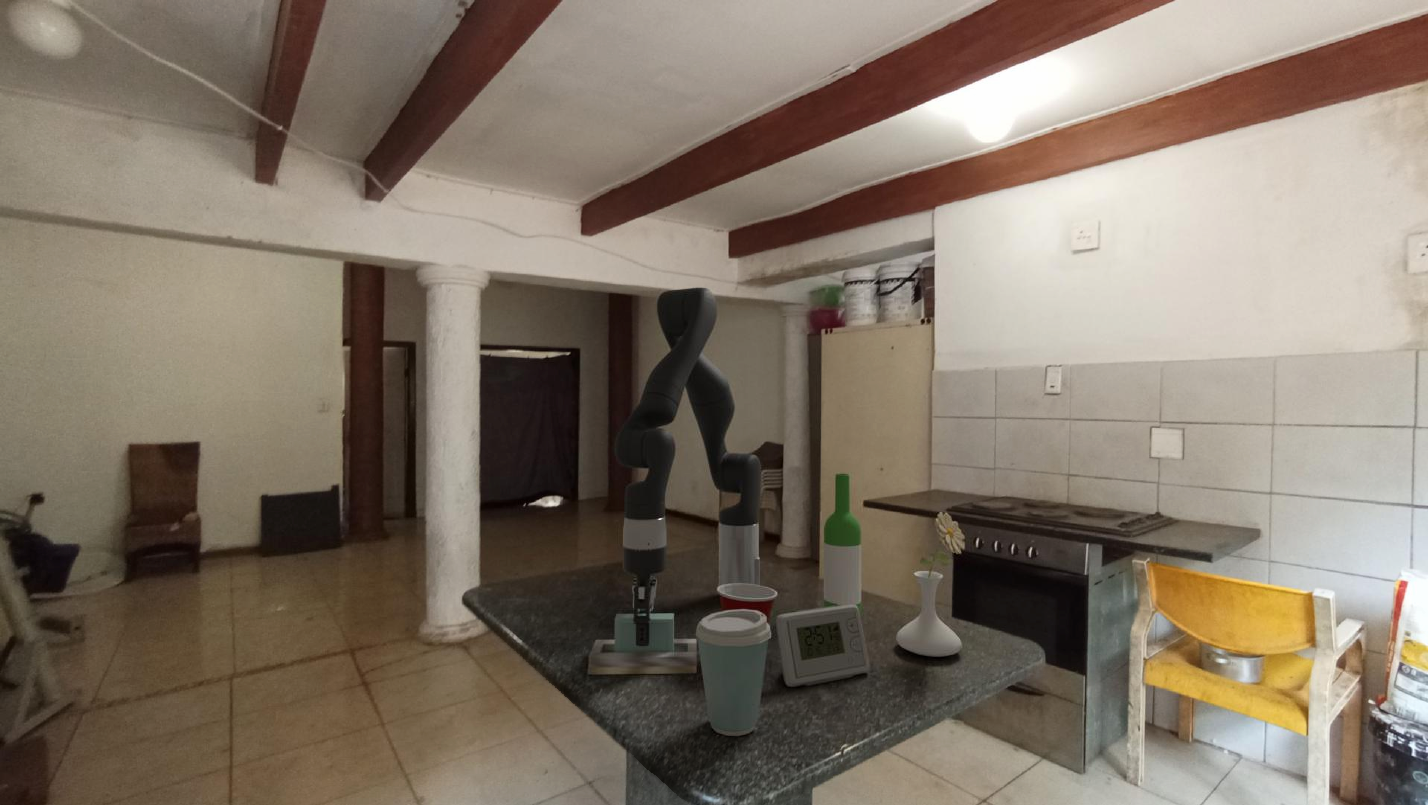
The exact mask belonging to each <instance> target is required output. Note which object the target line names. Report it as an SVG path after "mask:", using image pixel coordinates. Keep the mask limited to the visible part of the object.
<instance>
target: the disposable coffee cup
mask: <svg viewBox="0 0 1428 805" xmlns="http://www.w3.org/2000/svg"><path fill="white" fill-rule="evenodd" d="M695 632H696V633H695V637H696V640H697V645H698V651H699V658H700V659H699V661H700V666H701V667H700V668H701V672H702V679H703V680H702V682H703V688H704V695H705V702H706V709H707V715H708V716H707V717H708V722H709V723H710V726H711V728H712V729H713V730H714V731H715V732H716V733H718V734H721V735H723V736H728V737H730V736H731V737H740V736H744V735H748V734H750V733H751V732H753V731H754V730H755V729H756V726H757V724H758V722H759V721H758V720H759V713H760V712H759V711H760V706H761V705H760V704H761V698H762V697H761V696H762V692H763V691H762V690H763V682H764V675H765V668H766V662H767V660H766V659H767V653H768V652H767V651H768V644H769V639H771V638H772V631H771V625H770V624H769V623H767V617H766V616H765V615H764V614H763V613H761V612H759V611H757V610H747V609H738V610H726V611H717V612H714V613H710V614H709V615H707V616H705V617H703V618H702V619H701V620H700V621H699V622H698V623H697V626H696V631H695Z"/></svg>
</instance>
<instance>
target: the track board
mask: <svg viewBox="0 0 1428 805" xmlns="http://www.w3.org/2000/svg"><path fill="white" fill-rule="evenodd" d="M697 650H698V649H697V638H674V652H624V653H615V639H595V641H594V644H593V646H592V648H591V651H590V653H589V656H588V668H587V675H636V674H637V675H645V674H646V675H654V674H655V675H657V674H658V675H659V674H661V675H662V674H666V675H667V674H670V675H671V674H673V675H674V674H697V672H698V671H697V669H698V668H697V667H698V666H697V665H698V664H697V658H698V656H697Z"/></svg>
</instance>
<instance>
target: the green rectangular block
mask: <svg viewBox="0 0 1428 805" xmlns="http://www.w3.org/2000/svg"><path fill="white" fill-rule="evenodd" d="M639 616H646V614H640V613H639ZM633 618H634V613H616V615H615V617H614V640H615V653H624V652H674V639H675V635H674V634H675V613H674V612H673V613H671V612H670V613H665V612H664V613H653V614H650V618H651V621H650V624H649V645H648V646H637V645H636V624H634V621H633Z"/></svg>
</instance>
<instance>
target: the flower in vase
mask: <svg viewBox="0 0 1428 805" xmlns="http://www.w3.org/2000/svg"><path fill="white" fill-rule="evenodd" d="M934 525H935V527H936V532H937V534H938V539H939V542H938V544H937V547H936V549H935V553H934V556H933V560H932V561H931V560H929V559H927V558H925V557H923V556H921V557H920V561H919V564H920V565H923V566H926V567H929V570H928V571H927V570H926V571H925V570H923V571H922V570H921V571H920V570H919V571H915V572H914V573H913V575H914V576H915V578H916V579H917V581H918V583H919V587H920V592H921V612H920V613H919V615H918V616H917V617H916V618H914V619H913V620H912V621H910V622H908V623H907V624H906V625H904V626H903V627H902V628H901V629H899V630H898V631H897V634H896V636H895V640H896V642H897V643H898V645H899V646H900V648H902V649H904V650H907V651H909V652H911V653H913V654H916V655H920V656H926V657H936V658H939V657H940V658H941V657H948V656H951V655H952V656H953V655H955V654H957V653H959V651H961V649H962V647H963V643H962V641H961V639H960V637H959V636H958V635H957V634H956V633H955V632H954V631H953V630H952V629H951V628H950V627H949V626H947V625H946V624H945V623H944V622H943V621H942V620H941V619H940V618H939V617H938V616H937V612H936V604H935V603H936V594H937V588H938V586H939V583H940V582H941V580H942V579H943V577H944V575H943V574H941V573H939V572H936V571H933V568H934V565H935V564H936V560H937V562H938V563H939V564H941V565H942V566H944V567H945V566H946V567H947V566H949V564H951V563H952V559H951V557H950V556H949V554H947V553H946V552H944V551H939V549H940V547H941V544H943V546H945V548H946V550H947V551H951V552H952V553H953V554H954V553H955V554H957V555H961V554H962V550H965V549H966V546H965V545H966V543H965V541H963V540H965V538H966V537H965V535H964V534H963V533H962V530H961V529H960V528H959V524H958V521H955V520H954V521H953V519H952V516H951V515H949V513H948V512H945V513H943V512H942V511H940V512H939V513H938V514H937V518H935V523H934ZM961 549H962V550H961Z"/></svg>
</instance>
